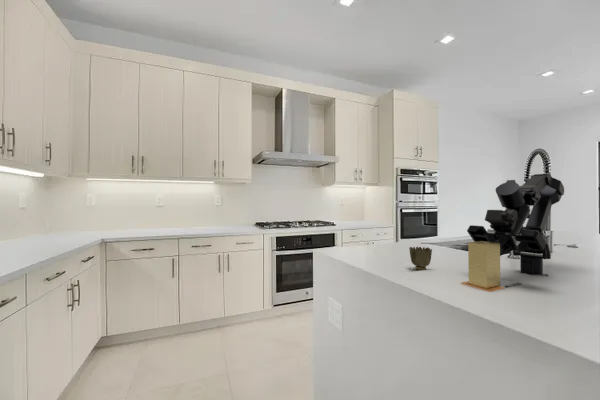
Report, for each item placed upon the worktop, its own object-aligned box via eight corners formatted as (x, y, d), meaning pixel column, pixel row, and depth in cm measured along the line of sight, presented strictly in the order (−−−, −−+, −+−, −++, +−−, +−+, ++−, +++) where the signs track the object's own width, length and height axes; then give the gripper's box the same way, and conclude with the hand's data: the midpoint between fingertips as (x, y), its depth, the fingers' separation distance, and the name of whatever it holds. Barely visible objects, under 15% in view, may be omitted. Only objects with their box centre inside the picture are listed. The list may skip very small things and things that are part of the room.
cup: (434, 273, 95) (434, 250, 95) (411, 272, 97) (411, 249, 97) (429, 268, 103) (428, 246, 103) (407, 267, 104) (407, 246, 104)
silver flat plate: (492, 280, 87) (492, 276, 87) (522, 287, 79) (522, 283, 79) (460, 287, 80) (460, 282, 80) (489, 295, 73) (489, 290, 73)
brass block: (481, 282, 82) (481, 240, 82) (500, 286, 77) (499, 243, 77) (468, 284, 79) (468, 242, 79) (486, 289, 75) (486, 244, 75)
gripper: (470, 200, 90) (447, 236, 86) (539, 199, 74) (515, 244, 69) (485, 223, 94) (464, 259, 89) (555, 228, 77) (533, 273, 72)
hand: (490, 258), depth 80 cm, fingers closed, pressing on brass block
